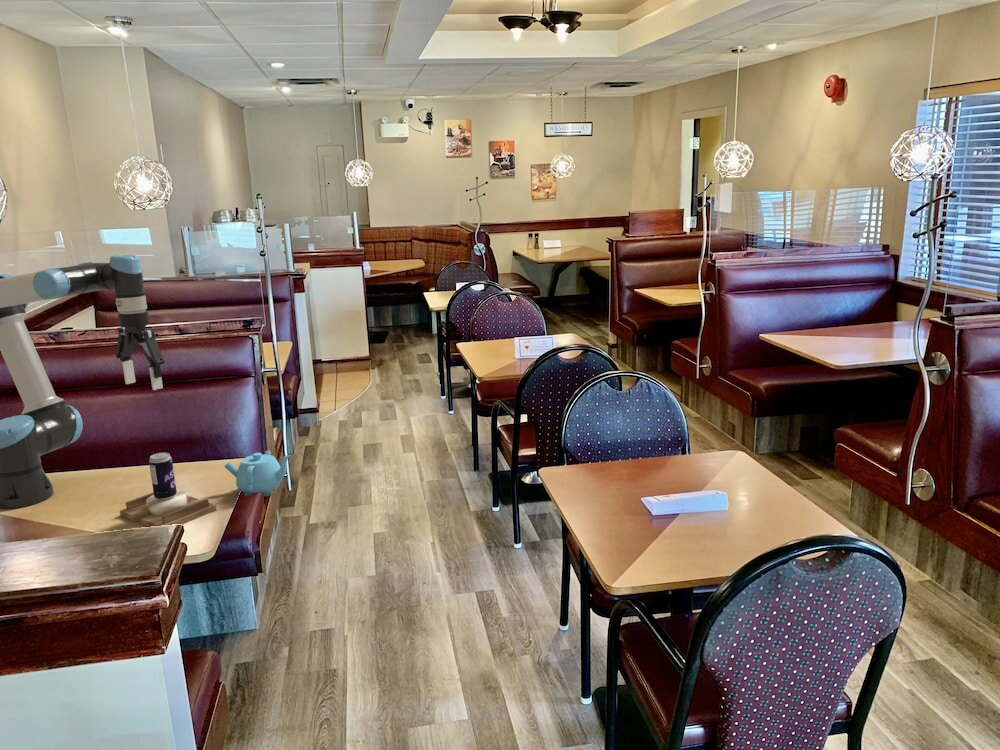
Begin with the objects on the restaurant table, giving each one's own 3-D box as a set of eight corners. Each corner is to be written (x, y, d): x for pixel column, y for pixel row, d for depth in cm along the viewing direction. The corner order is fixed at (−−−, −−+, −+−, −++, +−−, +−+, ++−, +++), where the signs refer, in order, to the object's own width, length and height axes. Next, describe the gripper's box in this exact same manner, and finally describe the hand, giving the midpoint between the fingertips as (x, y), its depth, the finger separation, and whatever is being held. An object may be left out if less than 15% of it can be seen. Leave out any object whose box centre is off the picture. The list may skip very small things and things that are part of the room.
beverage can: (168, 502, 206) (162, 459, 203) (150, 500, 207) (143, 458, 204) (181, 493, 212) (175, 452, 209) (163, 492, 213) (156, 451, 210)
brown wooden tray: (120, 515, 210) (117, 500, 209) (173, 495, 222) (171, 480, 221) (163, 532, 199) (160, 516, 197) (216, 510, 211) (214, 494, 210)
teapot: (277, 477, 234) (273, 441, 231) (295, 490, 223) (291, 453, 220) (226, 490, 225) (221, 453, 222) (243, 504, 214) (238, 466, 212)
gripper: (95, 310, 217) (107, 383, 223) (145, 316, 203) (157, 394, 209) (121, 306, 223) (132, 377, 229) (171, 312, 209) (181, 388, 215)
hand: (143, 386), depth 219 cm, fingers open, 13 cm apart
